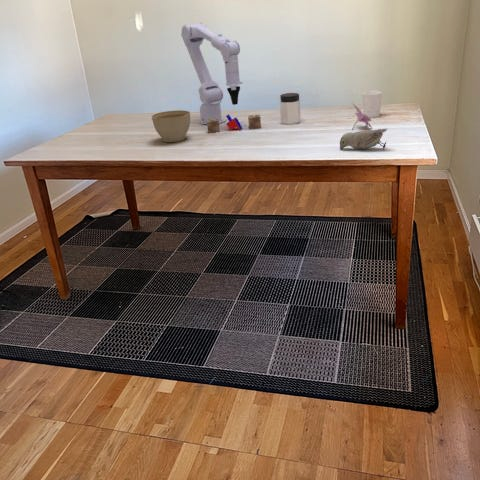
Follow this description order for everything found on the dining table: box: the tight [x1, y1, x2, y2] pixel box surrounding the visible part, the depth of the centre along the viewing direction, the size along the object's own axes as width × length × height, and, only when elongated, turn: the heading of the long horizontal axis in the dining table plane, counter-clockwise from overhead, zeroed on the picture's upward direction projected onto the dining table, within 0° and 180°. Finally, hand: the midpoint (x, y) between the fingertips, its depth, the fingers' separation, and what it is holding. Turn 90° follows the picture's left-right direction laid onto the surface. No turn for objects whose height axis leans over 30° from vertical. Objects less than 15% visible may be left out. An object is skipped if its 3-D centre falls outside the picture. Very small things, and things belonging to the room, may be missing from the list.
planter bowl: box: [150, 109, 191, 143], centre depth 209 cm, size 16×16×11 cm
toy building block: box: [225, 114, 243, 131], centre depth 217 cm, size 4×4×8 cm
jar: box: [279, 92, 301, 125], centre depth 219 cm, size 9×8×12 cm
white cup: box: [362, 90, 383, 119], centre depth 216 cm, size 8×8×10 cm
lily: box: [351, 102, 373, 131], centre depth 199 cm, size 12×12×10 cm
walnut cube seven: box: [206, 119, 221, 134], centre depth 218 cm, size 5×5×5 cm
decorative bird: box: [339, 128, 388, 150], centre depth 174 cm, size 5×16×7 cm, turn 72°
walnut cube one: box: [247, 114, 262, 130], centre depth 217 cm, size 5×5×5 cm
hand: (235, 104), depth 218 cm, fingers closed
